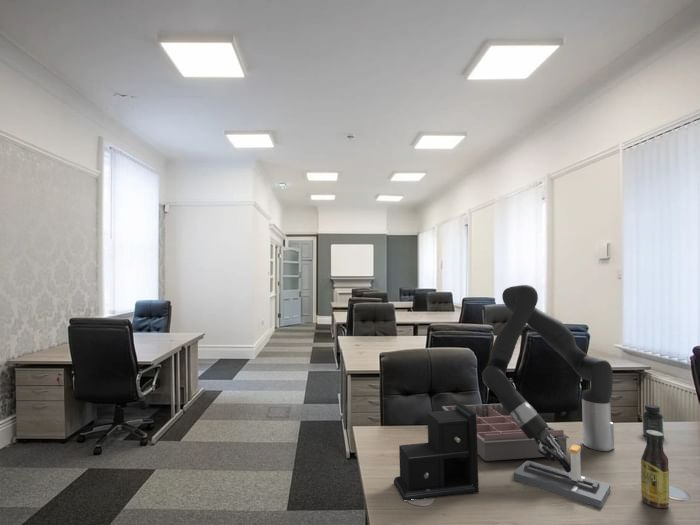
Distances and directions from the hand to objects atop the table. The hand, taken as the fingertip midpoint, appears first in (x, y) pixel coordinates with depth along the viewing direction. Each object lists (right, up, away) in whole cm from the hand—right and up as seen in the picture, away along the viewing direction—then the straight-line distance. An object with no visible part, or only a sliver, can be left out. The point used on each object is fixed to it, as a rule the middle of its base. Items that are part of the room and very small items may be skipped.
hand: (570, 470), depth 120 cm
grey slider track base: (-2, -5, +2) cm, 6 cm away
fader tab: (+1, -3, -1) cm, 3 cm away
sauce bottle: (+19, -5, -9) cm, 22 cm away
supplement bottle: (+56, -7, +40) cm, 69 cm away
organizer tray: (-8, -8, +37) cm, 38 cm away
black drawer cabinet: (-41, -6, 0) cm, 42 cm away
